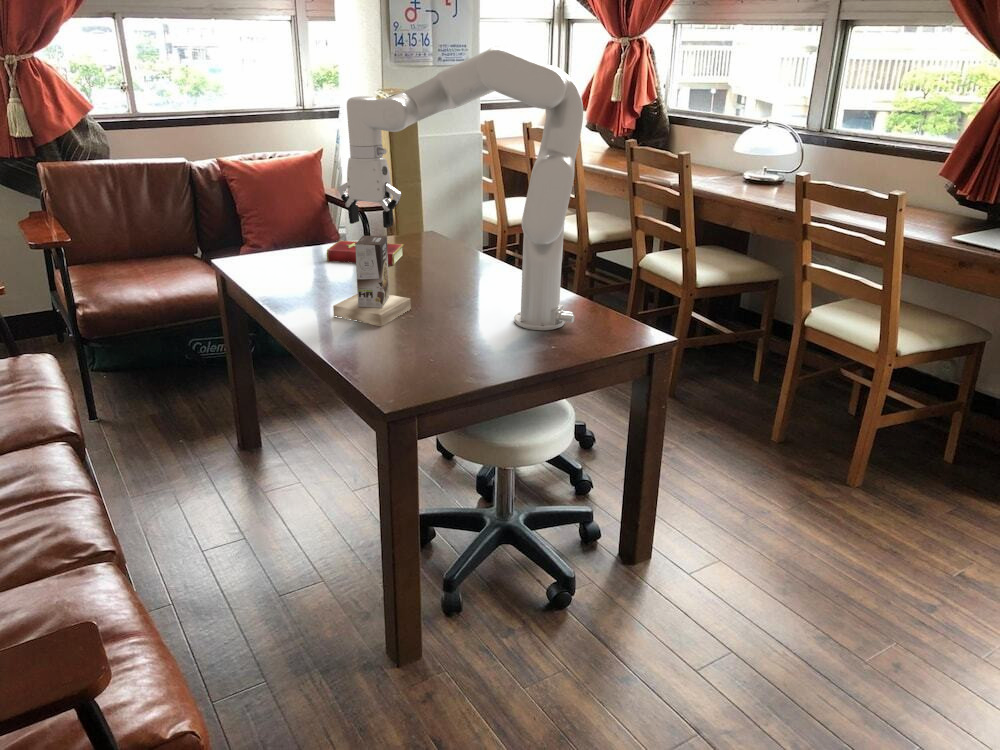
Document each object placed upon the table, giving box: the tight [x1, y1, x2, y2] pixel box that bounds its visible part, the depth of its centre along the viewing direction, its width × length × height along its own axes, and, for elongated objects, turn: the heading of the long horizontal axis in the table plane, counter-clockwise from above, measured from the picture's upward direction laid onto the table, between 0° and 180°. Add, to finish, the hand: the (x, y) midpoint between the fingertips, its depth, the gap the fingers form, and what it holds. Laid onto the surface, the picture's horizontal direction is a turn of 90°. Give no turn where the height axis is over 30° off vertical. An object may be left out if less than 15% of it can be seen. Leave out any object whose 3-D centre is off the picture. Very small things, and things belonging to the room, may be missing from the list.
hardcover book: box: [326, 240, 405, 266], centre depth 252 cm, size 12×21×4 cm, turn 82°
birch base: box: [332, 293, 412, 327], centre depth 206 cm, size 14×14×3 cm
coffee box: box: [355, 235, 390, 308], centre depth 202 cm, size 9×6×16 cm
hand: (371, 224), depth 197 cm, fingers open, 9 cm apart
